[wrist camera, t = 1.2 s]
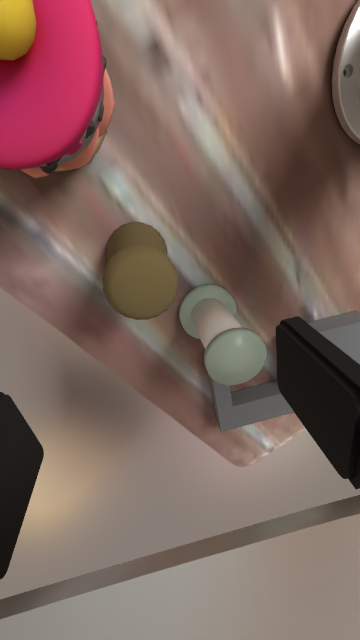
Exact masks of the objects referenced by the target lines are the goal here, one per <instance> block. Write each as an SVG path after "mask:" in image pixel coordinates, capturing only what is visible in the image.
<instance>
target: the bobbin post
mask: <svg viewBox="0 0 360 640" xmlns="http://www.w3.org/2000/svg"><path fill="white" fill-rule="evenodd" d="M235 316H236V304H235V301H234V299H233V298H232V296H231V295H230V294H229V293H228V292H227V291H226V290H225V289H224V288H222V287H220V286H218V285H214V284H205V285H201V286H198V287H195V288H194V289H192V290H191V291H189V292H188V293H187V294H186V295H185V297H184V298H183V300H182V302H181V304H180V307H179V318H180V321H181V324H182V326H183V328H184V330H185V331H186V332H187V333H188V334H189V335H191V336H192V337H194V338H197V339H201V342H202V344H203V346H204V348H205V353H204V364H205V367H206V369H207V372H208V374H209V375H210V377H211V378H212V379H213V380H214V381H216V382H218V383H220V384H223V385H238V384H242V383H244V382H247V381H249V380H250V379H252V378H253V377H254V376H256V375H257V374H258V373H259V372H260V370H261V369H262V368H263V366H264V364H265V361H266V357H267V349H266V346H265V344H264V342H263V341H262V339H261V338H260V337H259V336H258V335H257V334H256V333H255V332H254V331H252V330H250V329H247V328H242V326H241V325H240V324H239V323H238V321H237V320H236V319H235Z"/></svg>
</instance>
